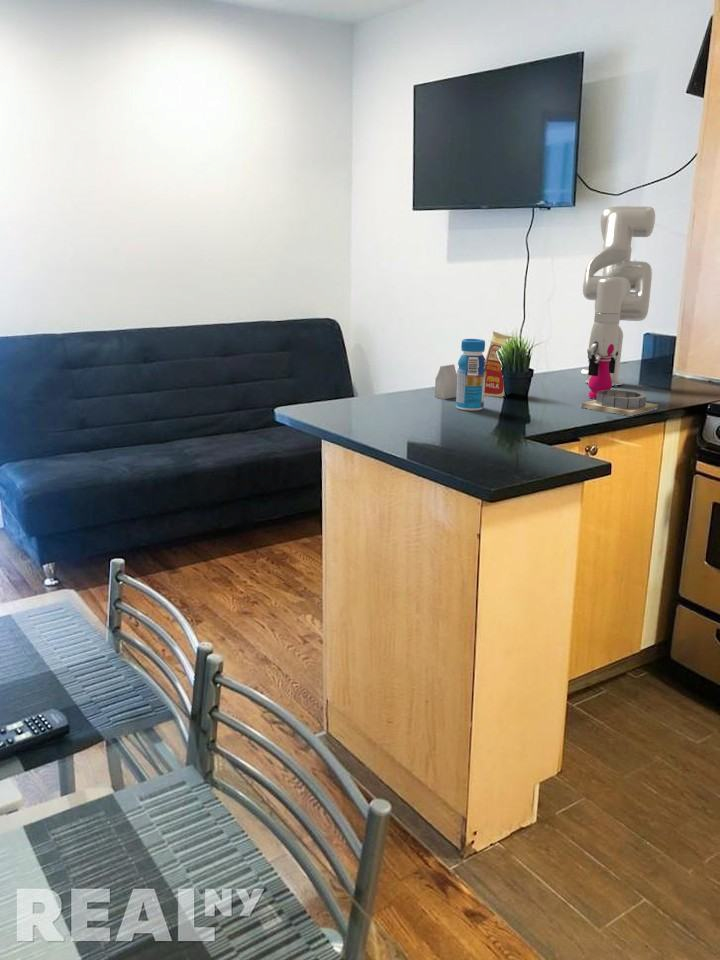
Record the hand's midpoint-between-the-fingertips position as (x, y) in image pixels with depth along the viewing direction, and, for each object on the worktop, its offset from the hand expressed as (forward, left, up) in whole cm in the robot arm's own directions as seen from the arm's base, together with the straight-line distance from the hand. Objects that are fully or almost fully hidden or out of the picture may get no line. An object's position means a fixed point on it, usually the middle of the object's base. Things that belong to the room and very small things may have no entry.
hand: (601, 374), depth 256 cm
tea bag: (-32, -37, -8) cm, 50 cm away
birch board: (+13, -10, -8) cm, 18 cm away
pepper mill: (0, 0, -8) cm, 8 cm away
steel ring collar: (+13, -10, -6) cm, 17 cm away
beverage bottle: (-16, -45, -8) cm, 48 cm away
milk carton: (-25, -20, -8) cm, 33 cm away
